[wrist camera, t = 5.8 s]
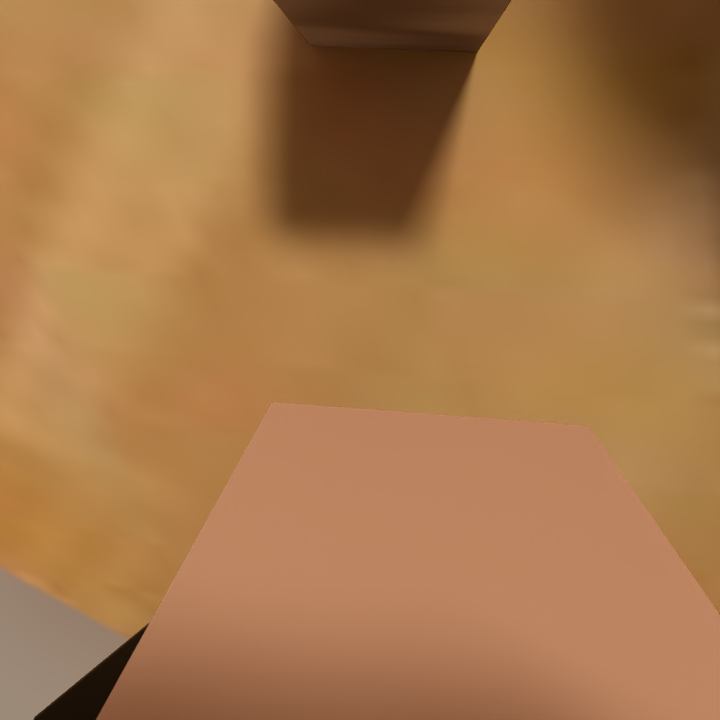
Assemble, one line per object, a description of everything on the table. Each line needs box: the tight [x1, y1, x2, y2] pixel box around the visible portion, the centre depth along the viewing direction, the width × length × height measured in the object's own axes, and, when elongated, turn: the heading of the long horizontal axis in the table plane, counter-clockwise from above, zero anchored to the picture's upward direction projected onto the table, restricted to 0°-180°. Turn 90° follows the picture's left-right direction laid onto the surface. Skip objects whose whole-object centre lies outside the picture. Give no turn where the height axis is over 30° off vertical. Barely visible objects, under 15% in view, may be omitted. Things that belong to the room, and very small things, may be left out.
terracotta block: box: [96, 402, 720, 720], centre depth 7 cm, size 5×5×6 cm
